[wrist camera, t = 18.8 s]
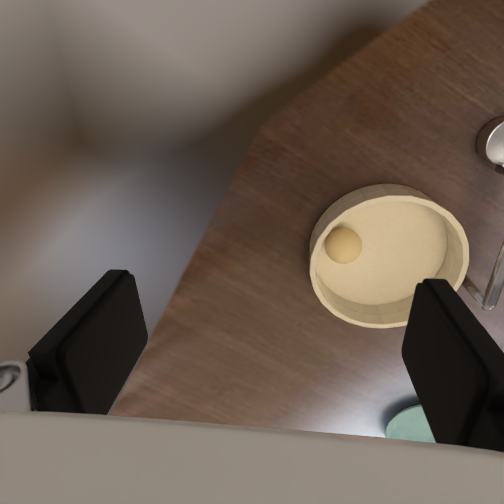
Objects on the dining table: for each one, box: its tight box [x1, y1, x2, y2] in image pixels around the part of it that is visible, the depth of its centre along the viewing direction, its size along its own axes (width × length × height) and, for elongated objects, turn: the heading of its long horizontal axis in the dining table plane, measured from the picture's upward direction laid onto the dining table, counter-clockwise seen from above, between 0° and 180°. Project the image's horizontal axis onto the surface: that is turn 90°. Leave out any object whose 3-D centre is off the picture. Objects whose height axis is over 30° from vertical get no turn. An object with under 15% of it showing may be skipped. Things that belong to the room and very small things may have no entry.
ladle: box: [462, 116, 504, 311], centre depth 32 cm, size 18×4×7 cm, turn 1°
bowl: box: [308, 184, 469, 328], centre depth 37 cm, size 16×16×4 cm
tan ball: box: [325, 228, 362, 264], centre depth 37 cm, size 4×4×4 cm
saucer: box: [385, 405, 436, 443], centre depth 50 cm, size 12×12×2 cm
